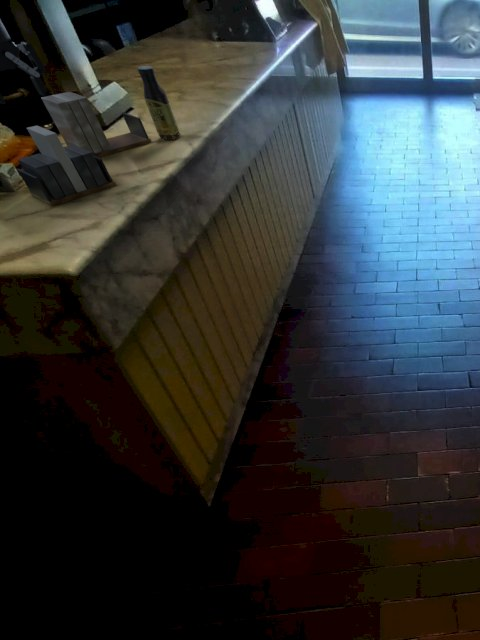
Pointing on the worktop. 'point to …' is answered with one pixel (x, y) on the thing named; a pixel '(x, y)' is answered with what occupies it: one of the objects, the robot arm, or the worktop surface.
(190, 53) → the worktop surface
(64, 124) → the grey book stand
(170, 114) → the sauce bottle
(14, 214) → the worktop surface
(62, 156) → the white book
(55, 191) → the grey book rack
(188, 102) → the worktop surface
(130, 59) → the worktop surface
